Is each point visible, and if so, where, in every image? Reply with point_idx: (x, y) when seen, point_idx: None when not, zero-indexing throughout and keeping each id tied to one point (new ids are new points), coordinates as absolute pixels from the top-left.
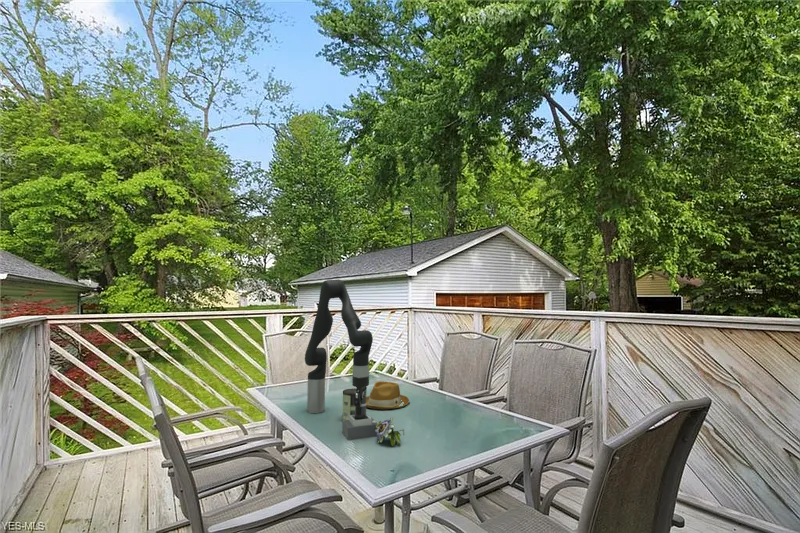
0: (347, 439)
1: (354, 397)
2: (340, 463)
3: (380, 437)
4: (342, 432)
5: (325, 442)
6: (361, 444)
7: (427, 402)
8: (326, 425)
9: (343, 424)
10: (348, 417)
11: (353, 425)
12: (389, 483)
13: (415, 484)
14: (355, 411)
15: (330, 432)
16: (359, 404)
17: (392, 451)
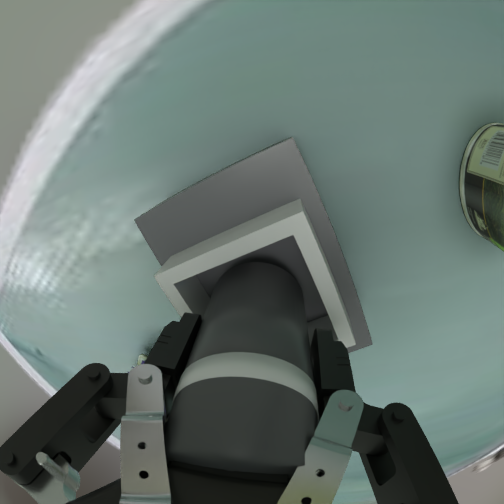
0: (166, 199)
1: (19, 433)
2: (6, 228)
3: (132, 367)
4: (285, 139)
5: (121, 91)
6: (134, 277)
7: None
8: (402, 26)
9: (254, 154)
10: (479, 163)
11: (174, 255)
12: (7, 338)
13: (28, 374)
14: (217, 313)
15: (280, 62)
16: (93, 413)
17: (119, 371)
